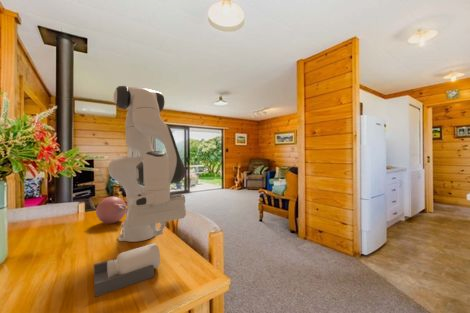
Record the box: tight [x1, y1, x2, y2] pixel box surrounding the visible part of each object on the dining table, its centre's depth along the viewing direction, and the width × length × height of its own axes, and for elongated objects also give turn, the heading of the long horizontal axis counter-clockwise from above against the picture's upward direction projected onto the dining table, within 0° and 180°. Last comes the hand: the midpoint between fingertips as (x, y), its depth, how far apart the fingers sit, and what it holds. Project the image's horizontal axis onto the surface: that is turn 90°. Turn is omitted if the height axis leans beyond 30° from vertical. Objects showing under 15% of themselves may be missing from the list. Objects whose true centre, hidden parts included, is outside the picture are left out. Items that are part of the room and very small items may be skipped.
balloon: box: [95, 196, 127, 224], centre depth 121 cm, size 15×20×15 cm
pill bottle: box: [106, 243, 161, 278], centre depth 69 cm, size 8×8×15 cm
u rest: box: [93, 258, 155, 297], centre depth 68 cm, size 13×16×4 cm
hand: (158, 234), depth 75 cm, fingers closed
